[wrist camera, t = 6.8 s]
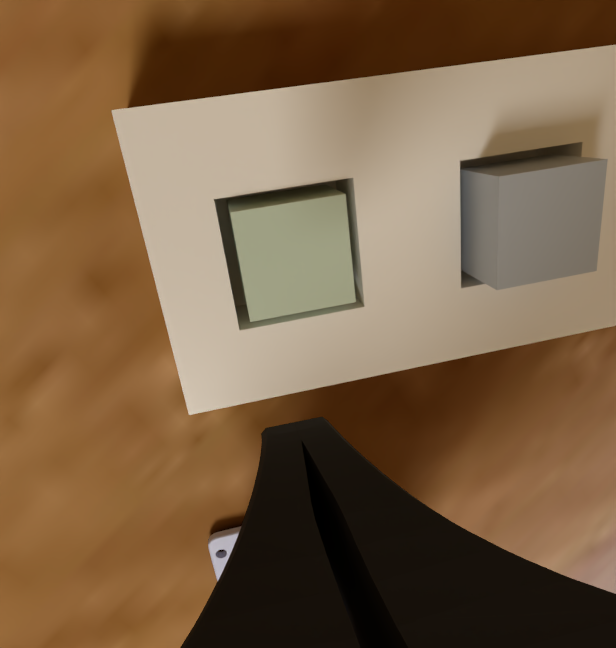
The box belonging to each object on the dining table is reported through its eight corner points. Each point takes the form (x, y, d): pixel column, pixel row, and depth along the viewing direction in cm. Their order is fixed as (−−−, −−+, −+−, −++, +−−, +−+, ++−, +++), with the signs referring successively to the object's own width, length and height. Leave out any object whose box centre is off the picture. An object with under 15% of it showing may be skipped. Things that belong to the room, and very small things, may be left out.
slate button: (545, 251, 20) (596, 271, 17) (457, 267, 19) (496, 290, 17) (550, 154, 18) (607, 159, 16) (456, 168, 18) (499, 176, 15)
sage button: (335, 278, 20) (356, 302, 17) (244, 295, 19) (250, 322, 17) (325, 184, 18) (345, 193, 16) (226, 199, 18) (230, 212, 15)
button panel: (724, 269, 24) (791, 288, 21) (191, 376, 21) (189, 414, 18) (773, 27, 20) (863, 12, 17) (126, 112, 17) (111, 110, 14)
